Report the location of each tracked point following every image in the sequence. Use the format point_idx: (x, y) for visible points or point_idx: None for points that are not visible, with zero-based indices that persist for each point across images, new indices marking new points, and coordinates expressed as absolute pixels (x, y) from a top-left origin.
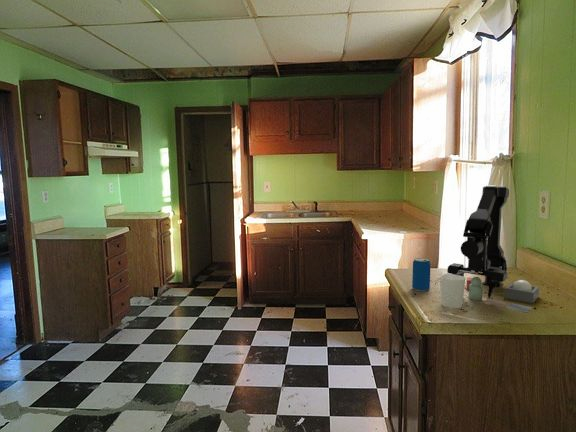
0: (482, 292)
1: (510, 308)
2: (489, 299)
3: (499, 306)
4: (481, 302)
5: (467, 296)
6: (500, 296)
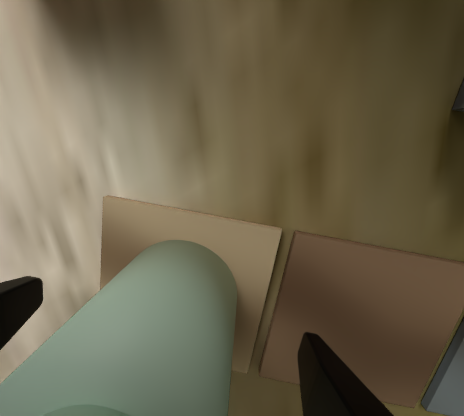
0: (231, 356)
1: (462, 405)
2: (298, 247)
3: (378, 393)
4: (240, 356)
5: (104, 246)
6: (416, 22)
